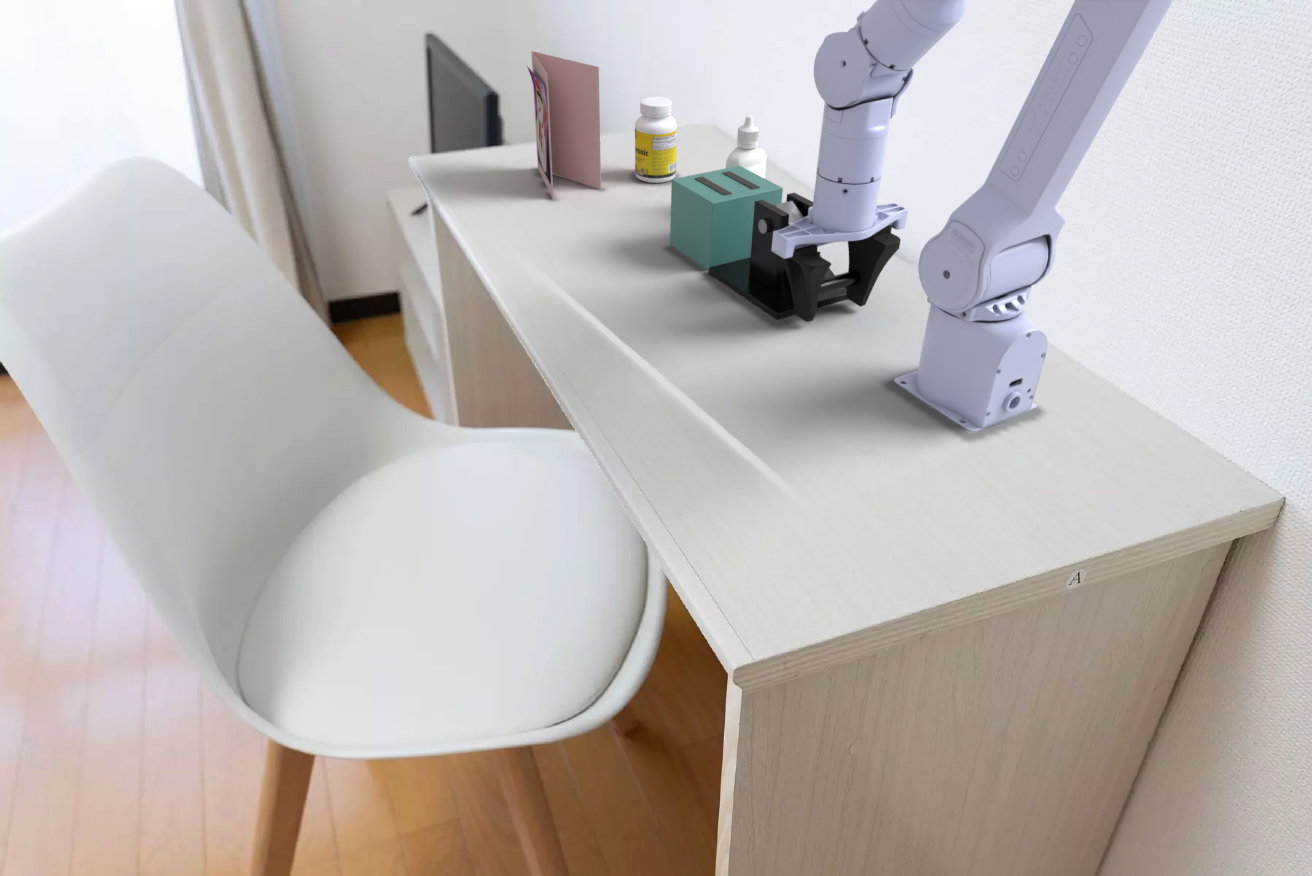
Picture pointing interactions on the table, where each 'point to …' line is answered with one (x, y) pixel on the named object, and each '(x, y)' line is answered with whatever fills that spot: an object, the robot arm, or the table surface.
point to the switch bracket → (768, 265)
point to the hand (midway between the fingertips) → (830, 309)
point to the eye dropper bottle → (748, 150)
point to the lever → (830, 280)
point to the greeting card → (566, 119)
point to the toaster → (717, 213)
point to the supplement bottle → (655, 141)
